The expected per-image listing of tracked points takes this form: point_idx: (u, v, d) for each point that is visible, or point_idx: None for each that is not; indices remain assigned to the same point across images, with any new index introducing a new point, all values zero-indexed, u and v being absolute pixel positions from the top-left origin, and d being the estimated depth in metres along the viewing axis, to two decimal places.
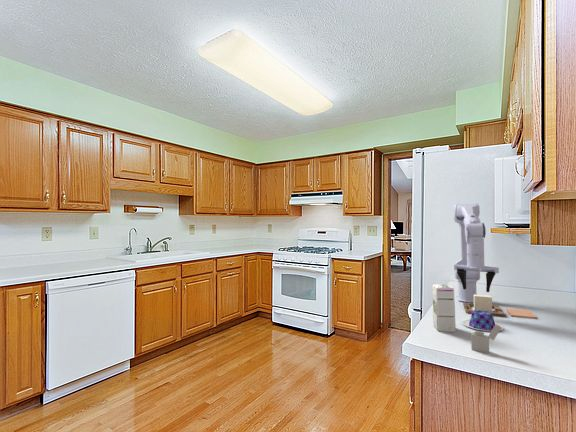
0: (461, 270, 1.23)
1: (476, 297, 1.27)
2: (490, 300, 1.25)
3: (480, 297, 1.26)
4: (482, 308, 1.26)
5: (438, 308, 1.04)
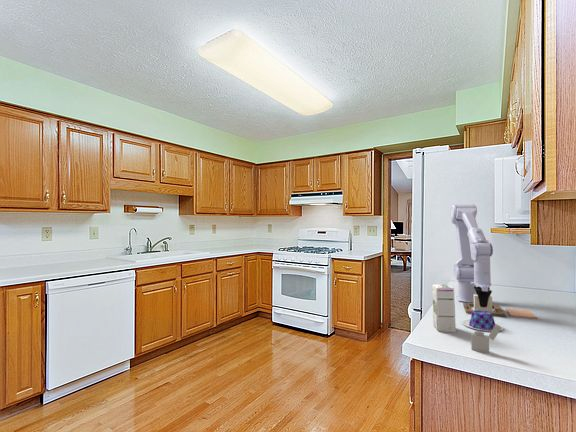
0: (478, 285, 1.32)
1: (476, 297, 1.27)
2: (490, 300, 1.25)
3: None
4: (482, 308, 1.26)
5: (438, 308, 1.04)
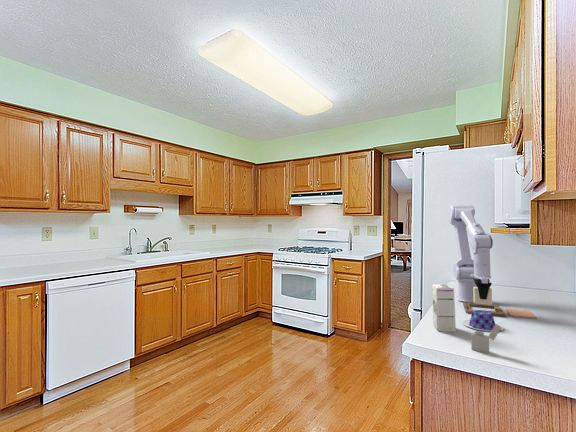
0: (478, 278, 1.32)
1: (476, 289, 1.27)
2: (490, 292, 1.25)
3: None
4: (482, 300, 1.26)
5: (438, 308, 1.04)
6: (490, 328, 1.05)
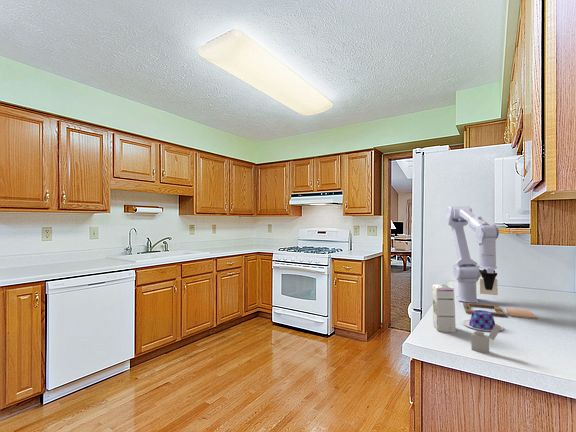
0: None
1: (481, 280, 1.26)
2: (495, 282, 1.24)
3: None
4: (487, 291, 1.25)
5: (438, 308, 1.04)
6: (490, 328, 1.05)
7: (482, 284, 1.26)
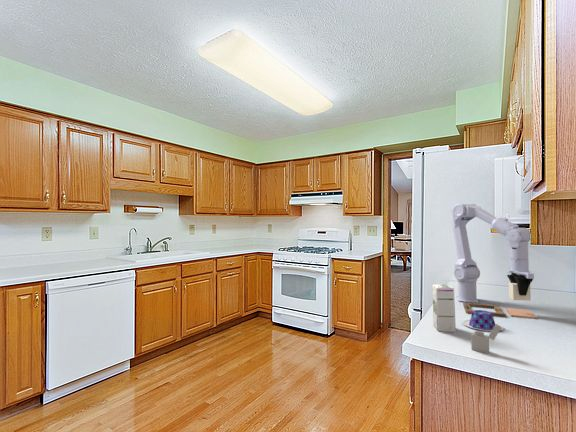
0: None
1: (515, 285, 1.21)
2: (528, 288, 1.20)
3: None
4: (521, 296, 1.21)
5: (438, 308, 1.04)
6: (490, 328, 1.05)
7: (515, 290, 1.21)
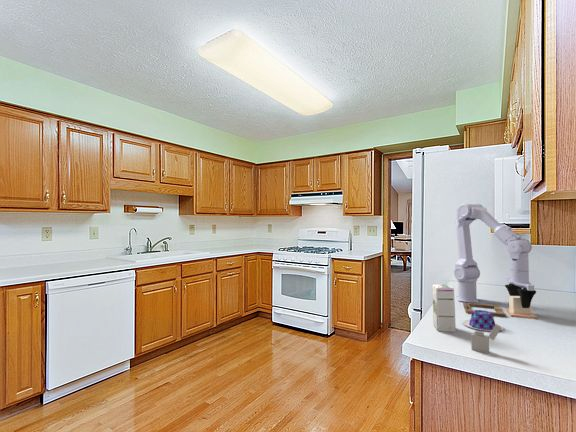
0: (510, 284, 1.27)
1: (515, 299, 1.21)
2: None
3: (519, 298, 1.21)
4: (521, 310, 1.21)
5: (438, 308, 1.04)
6: (489, 328, 1.05)
7: (516, 303, 1.21)
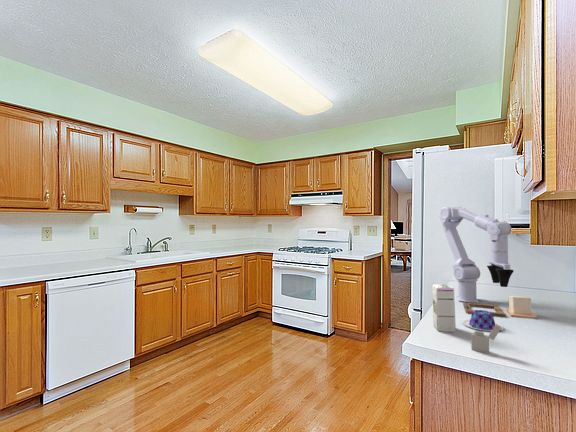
0: (492, 265, 1.33)
1: (515, 299, 1.21)
2: (529, 301, 1.20)
3: (519, 298, 1.21)
4: (521, 310, 1.21)
5: (438, 308, 1.04)
6: (489, 328, 1.05)
7: (516, 303, 1.21)
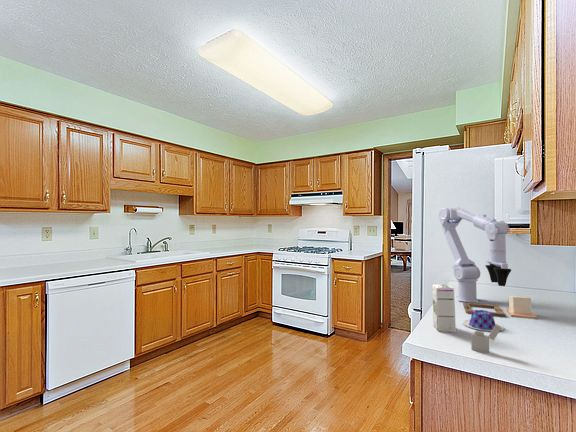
0: (490, 264, 1.33)
1: (515, 299, 1.21)
2: (529, 301, 1.20)
3: (519, 298, 1.21)
4: (521, 310, 1.21)
5: (438, 308, 1.04)
6: (489, 328, 1.05)
7: (516, 303, 1.21)
